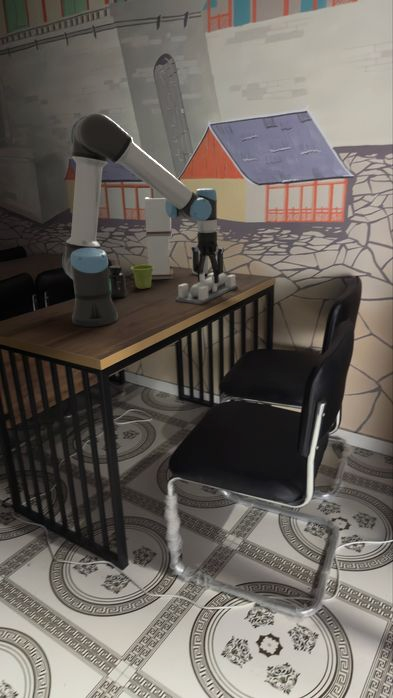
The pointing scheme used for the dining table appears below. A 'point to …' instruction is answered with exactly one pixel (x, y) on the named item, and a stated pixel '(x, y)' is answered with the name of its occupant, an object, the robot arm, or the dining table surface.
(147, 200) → the brown-trimmed grey box
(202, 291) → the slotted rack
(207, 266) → the can
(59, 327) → the dining table surface
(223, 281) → the tube
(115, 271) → the supplement bottle
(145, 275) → the plant pot
